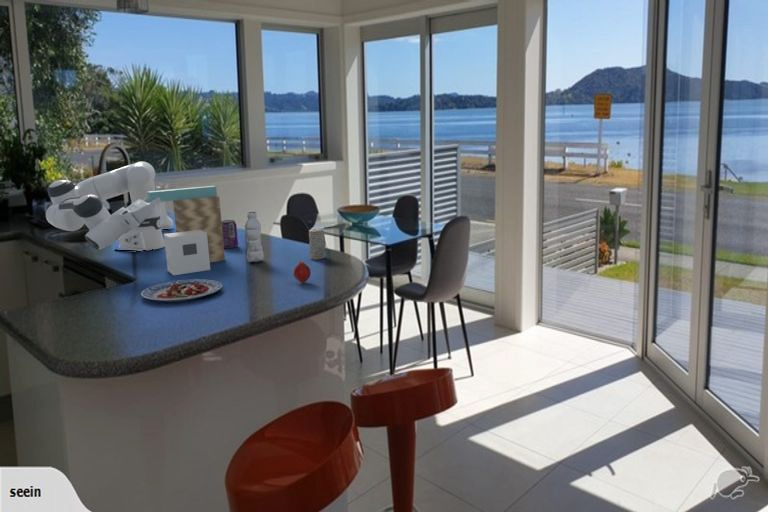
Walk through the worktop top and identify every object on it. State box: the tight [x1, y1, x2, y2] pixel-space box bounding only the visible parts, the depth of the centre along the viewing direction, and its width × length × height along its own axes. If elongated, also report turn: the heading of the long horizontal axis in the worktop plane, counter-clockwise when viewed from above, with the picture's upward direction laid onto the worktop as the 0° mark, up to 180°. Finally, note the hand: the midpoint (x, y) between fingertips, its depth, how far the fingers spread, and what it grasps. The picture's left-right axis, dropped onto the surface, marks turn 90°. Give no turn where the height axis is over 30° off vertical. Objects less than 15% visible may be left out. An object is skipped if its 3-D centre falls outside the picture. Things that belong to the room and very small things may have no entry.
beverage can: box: [221, 219, 239, 249], centre depth 297 cm, size 7×7×12 cm
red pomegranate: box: [293, 260, 311, 284], centre depth 228 cm, size 6×6×8 cm
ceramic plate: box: [141, 278, 223, 303], centre depth 220 cm, size 26×26×3 cm
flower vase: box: [154, 181, 178, 230], centre depth 351 cm, size 13×18×25 cm
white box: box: [163, 230, 211, 276], centre depth 254 cm, size 14×9×14 cm, turn 121°
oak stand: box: [172, 195, 226, 263], centre depth 269 cm, size 16×10×26 cm, turn 121°
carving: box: [308, 228, 326, 261], centre depth 266 cm, size 6×8×12 cm
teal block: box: [148, 185, 218, 202], centre depth 263 cm, size 26×4×4 cm, turn 121°
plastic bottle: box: [244, 211, 265, 263], centre depth 263 cm, size 6×7×20 cm
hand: (157, 197), depth 258 cm, fingers open, 8 cm apart
